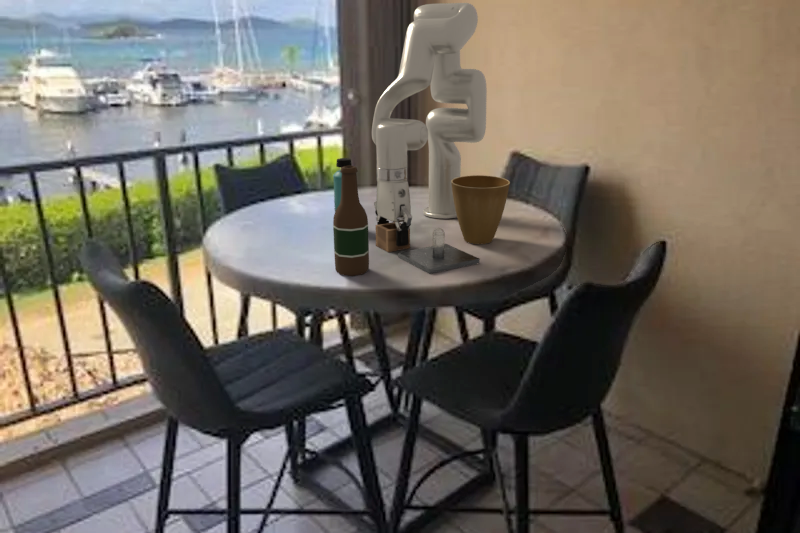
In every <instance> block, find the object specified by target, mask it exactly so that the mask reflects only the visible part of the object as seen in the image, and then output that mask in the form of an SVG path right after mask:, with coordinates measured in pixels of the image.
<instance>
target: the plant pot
mask: <svg viewBox="0 0 800 533" xmlns="http://www.w3.org/2000/svg"><path fill="white" fill-rule="evenodd" d="M451 184H452V192H453V199H454V205H455V210H456V214H457V218H456V219H457V222H458V225H459V228H460V232H461V234H462V236H463V239H464V242H466V243H468V242H469V243H468V244H471V243H473V245H487V244H490V243H492V242H493V240H494V238H495V235H496V233H497V232H498V229H499V225H500V223H501V220H502V217H503V214H504V210H505V208H506V202H507V198H508V193H509V189H510V184H511V182H510V180H508V179H506V178H504V177H500V176H495V175H485V174H482V175H479V174H478V175H477V174H473V175H464V176H460V177H457V178H454V179H453V180H452V181H451ZM486 243H487V244H486Z"/></svg>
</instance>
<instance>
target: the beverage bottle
mask: <svg viewBox="0 0 800 533" xmlns="http://www.w3.org/2000/svg"><path fill="white" fill-rule="evenodd" d="M352 164H353V163H352V159H351V158H349V157H342V158H337V159H336V168H341V167H344V166H353V165H352ZM340 170H341V169H340ZM340 170H336V172H334V173H333V175H332V178H333V196H334V197H333V199H334V200H333V202H334V212H335V211H336V209H337V208H338V206H339V204H340V201H341V182H342V173H341V172H340Z"/></svg>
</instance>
